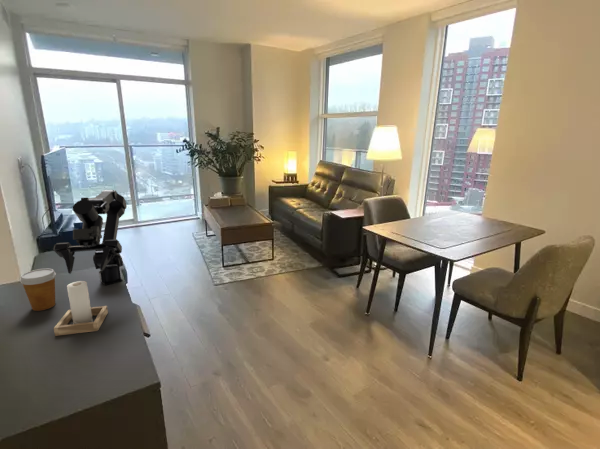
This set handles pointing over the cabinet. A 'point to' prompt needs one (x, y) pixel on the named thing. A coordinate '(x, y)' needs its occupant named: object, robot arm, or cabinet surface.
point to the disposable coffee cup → (40, 288)
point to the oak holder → (82, 327)
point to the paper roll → (79, 302)
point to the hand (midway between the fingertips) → (85, 271)
